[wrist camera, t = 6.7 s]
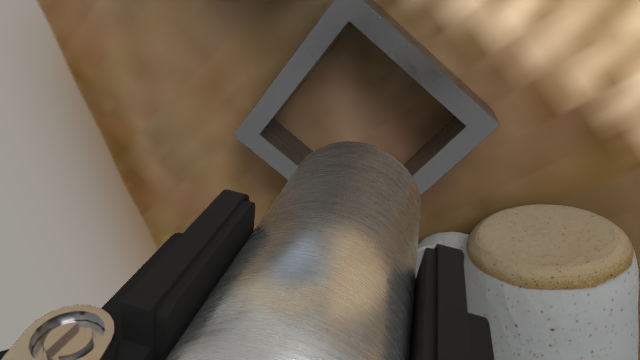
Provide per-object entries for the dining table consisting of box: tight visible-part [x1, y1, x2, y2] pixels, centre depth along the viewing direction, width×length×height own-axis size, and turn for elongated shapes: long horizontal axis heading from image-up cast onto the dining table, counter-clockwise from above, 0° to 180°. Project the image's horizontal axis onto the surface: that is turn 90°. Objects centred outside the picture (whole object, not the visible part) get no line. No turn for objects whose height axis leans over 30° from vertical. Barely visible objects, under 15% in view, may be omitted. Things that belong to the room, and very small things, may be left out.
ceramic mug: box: [416, 204, 639, 360], centre depth 22 cm, size 11×8×8 cm
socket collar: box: [233, 0, 500, 195], centre depth 22 cm, size 9×9×2 cm
